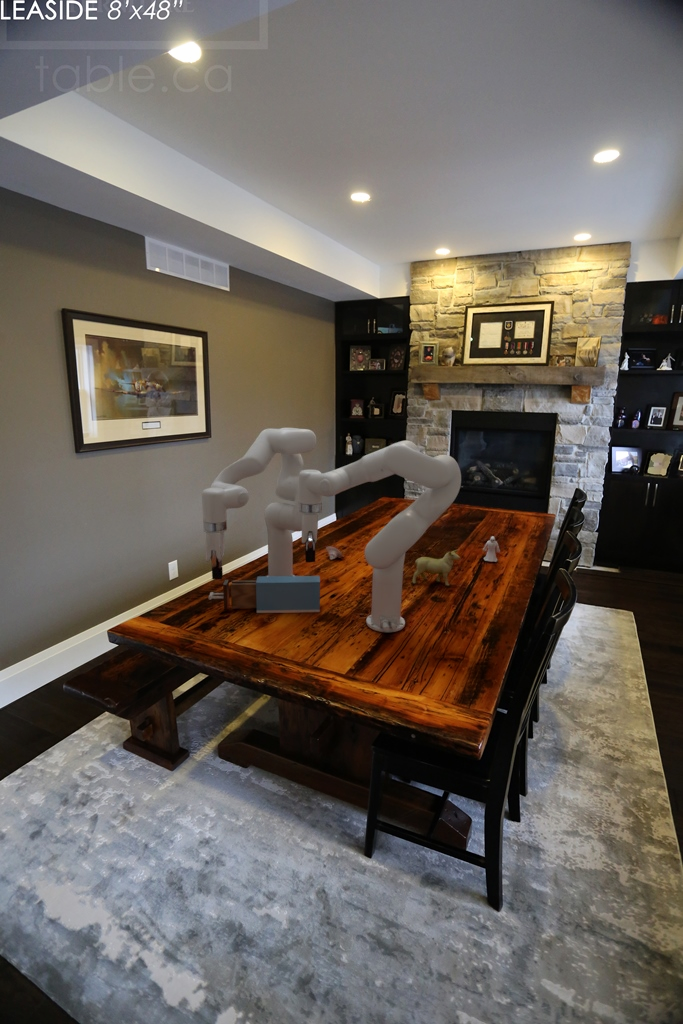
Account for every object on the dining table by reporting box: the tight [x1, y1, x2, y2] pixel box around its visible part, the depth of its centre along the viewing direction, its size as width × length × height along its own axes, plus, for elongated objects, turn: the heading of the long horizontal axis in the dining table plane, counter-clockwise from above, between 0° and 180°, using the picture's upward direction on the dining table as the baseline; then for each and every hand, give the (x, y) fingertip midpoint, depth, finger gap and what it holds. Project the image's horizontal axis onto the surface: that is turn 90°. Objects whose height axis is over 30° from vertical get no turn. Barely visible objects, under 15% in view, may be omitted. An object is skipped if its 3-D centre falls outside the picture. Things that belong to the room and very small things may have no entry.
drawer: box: [207, 579, 257, 611], centre depth 170 cm, size 25×4×9 cm, turn 94°
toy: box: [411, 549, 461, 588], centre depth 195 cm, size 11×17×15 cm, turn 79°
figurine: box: [482, 535, 501, 563], centre depth 223 cm, size 8×8×12 cm
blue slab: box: [255, 575, 321, 614], centre depth 171 cm, size 21×6×11 cm, turn 94°
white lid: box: [325, 545, 343, 561], centre depth 222 cm, size 8×5×8 cm
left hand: (217, 578), depth 168 cm, fingers closed
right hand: (310, 556), depth 168 cm, fingers open, 9 cm apart
